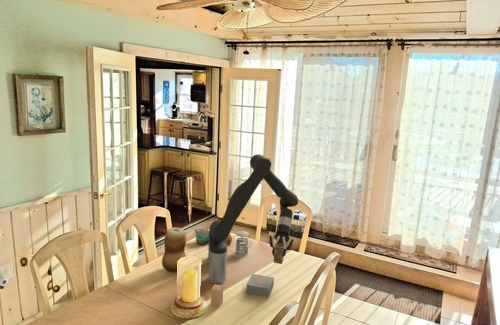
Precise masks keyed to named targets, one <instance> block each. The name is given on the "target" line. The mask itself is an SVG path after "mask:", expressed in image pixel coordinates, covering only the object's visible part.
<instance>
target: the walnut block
mask: <svg viewBox="0 0 500 325" xmlns="http://www.w3.org/2000/svg"><path fill="white" fill-rule="evenodd" d="M283 249H284V245H283V244H276V245H275V249H274V256H273V263H274V264H279V265H280V264H281V265H283V262H284V257H282V255H283Z"/></svg>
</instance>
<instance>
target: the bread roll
mask: <svg viewBox="0 0 500 325" xmlns="http://www.w3.org/2000/svg"><path fill="white" fill-rule="evenodd" d="M232 241H233V237H232V235H231V232H230V233H229V235H228V237H227V238H226V244H227V245H231V243H232Z"/></svg>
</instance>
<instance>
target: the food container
mask: <svg viewBox="0 0 500 325" xmlns="http://www.w3.org/2000/svg"><path fill="white" fill-rule="evenodd" d="M193 232H194V233H195V242H196V245H198V244H199V246H208V245H209V230H208V229H197V228H196V227H195V228H194V231H193ZM207 244H208V245H207Z"/></svg>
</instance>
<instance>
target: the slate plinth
mask: <svg viewBox="0 0 500 325" xmlns="http://www.w3.org/2000/svg"><path fill="white" fill-rule="evenodd" d="M274 281H275V277H273V276H267V275H261V274H257V273H256V274H255V273H252V274H251V276H250V278H249V279H248V281H247V282H246V286H245V287H246V290H245V294H248V295H252V296H258V297H262V298H270V295H271V293H272V290H273V288H274V284H275V283H274Z"/></svg>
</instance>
